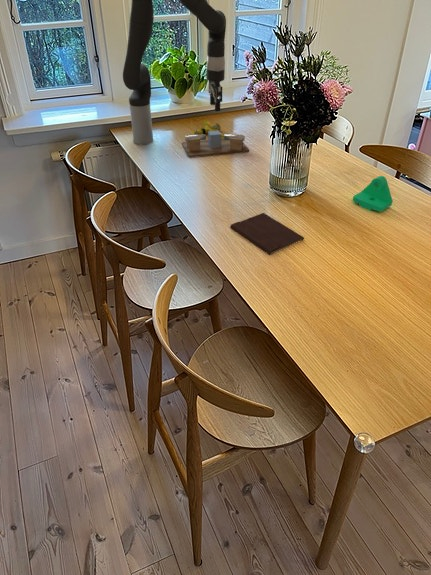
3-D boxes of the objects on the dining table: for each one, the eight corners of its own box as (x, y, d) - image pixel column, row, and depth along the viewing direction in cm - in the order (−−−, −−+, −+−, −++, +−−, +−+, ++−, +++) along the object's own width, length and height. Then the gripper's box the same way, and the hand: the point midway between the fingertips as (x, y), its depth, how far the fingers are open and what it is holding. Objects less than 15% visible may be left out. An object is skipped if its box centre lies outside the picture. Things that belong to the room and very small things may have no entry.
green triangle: (350, 203, 165) (356, 177, 159) (362, 196, 169) (368, 170, 163) (379, 214, 158) (386, 188, 152) (390, 207, 163) (398, 181, 156)
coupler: (208, 144, 207) (208, 131, 203) (218, 143, 208) (218, 130, 204) (210, 148, 203) (210, 135, 199) (221, 147, 204) (221, 134, 200)
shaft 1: (185, 140, 201) (185, 135, 200) (204, 138, 203) (204, 133, 202) (186, 142, 200) (186, 137, 198) (205, 140, 201) (205, 135, 200)
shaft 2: (225, 138, 203) (225, 133, 202) (244, 140, 202) (244, 134, 200) (224, 140, 201) (224, 135, 200) (243, 142, 200) (244, 136, 199)
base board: (181, 144, 209) (181, 131, 205) (239, 139, 214) (239, 126, 211) (188, 157, 197) (188, 144, 193) (249, 151, 202) (249, 138, 199)
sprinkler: (185, 123, 219) (210, 116, 226) (185, 130, 222) (209, 123, 229) (208, 140, 209) (233, 132, 216) (208, 147, 212) (233, 140, 219)
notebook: (263, 216, 158) (264, 211, 157) (303, 241, 146) (304, 235, 144) (230, 229, 151) (230, 224, 150) (269, 256, 139) (269, 251, 137)
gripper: (202, 63, 189) (203, 103, 199) (211, 72, 178) (210, 113, 189) (220, 63, 191) (219, 102, 201) (229, 71, 180) (227, 112, 190)
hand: (215, 107), depth 195 cm, fingers open, 8 cm apart
